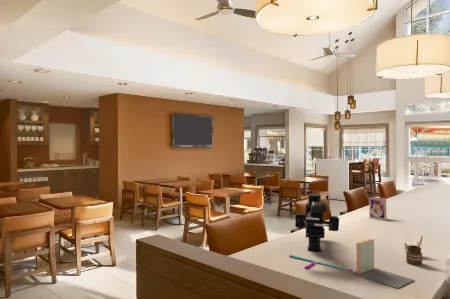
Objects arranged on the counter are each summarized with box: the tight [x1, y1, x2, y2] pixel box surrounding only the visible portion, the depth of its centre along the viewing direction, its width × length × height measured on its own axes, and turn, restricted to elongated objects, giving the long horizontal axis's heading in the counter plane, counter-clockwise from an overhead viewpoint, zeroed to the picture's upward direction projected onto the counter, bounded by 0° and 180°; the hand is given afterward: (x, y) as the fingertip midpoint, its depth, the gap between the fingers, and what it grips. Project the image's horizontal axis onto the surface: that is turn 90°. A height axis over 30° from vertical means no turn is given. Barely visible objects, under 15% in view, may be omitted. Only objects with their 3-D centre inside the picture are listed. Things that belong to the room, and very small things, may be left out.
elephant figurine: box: [403, 240, 424, 253], centre depth 152 cm, size 8×10×7 cm
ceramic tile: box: [355, 238, 375, 274], centre depth 131 cm, size 2×10×12 cm, turn 124°
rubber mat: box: [351, 267, 415, 290], centre depth 125 cm, size 18×12×1 cm, turn 34°
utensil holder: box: [405, 235, 424, 266], centre depth 141 cm, size 6×6×12 cm
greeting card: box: [368, 197, 387, 221], centre depth 233 cm, size 11×7×15 cm, turn 43°
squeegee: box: [288, 254, 354, 272], centre depth 138 cm, size 29×2×10 cm
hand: (318, 228), depth 137 cm, fingers open, 9 cm apart
